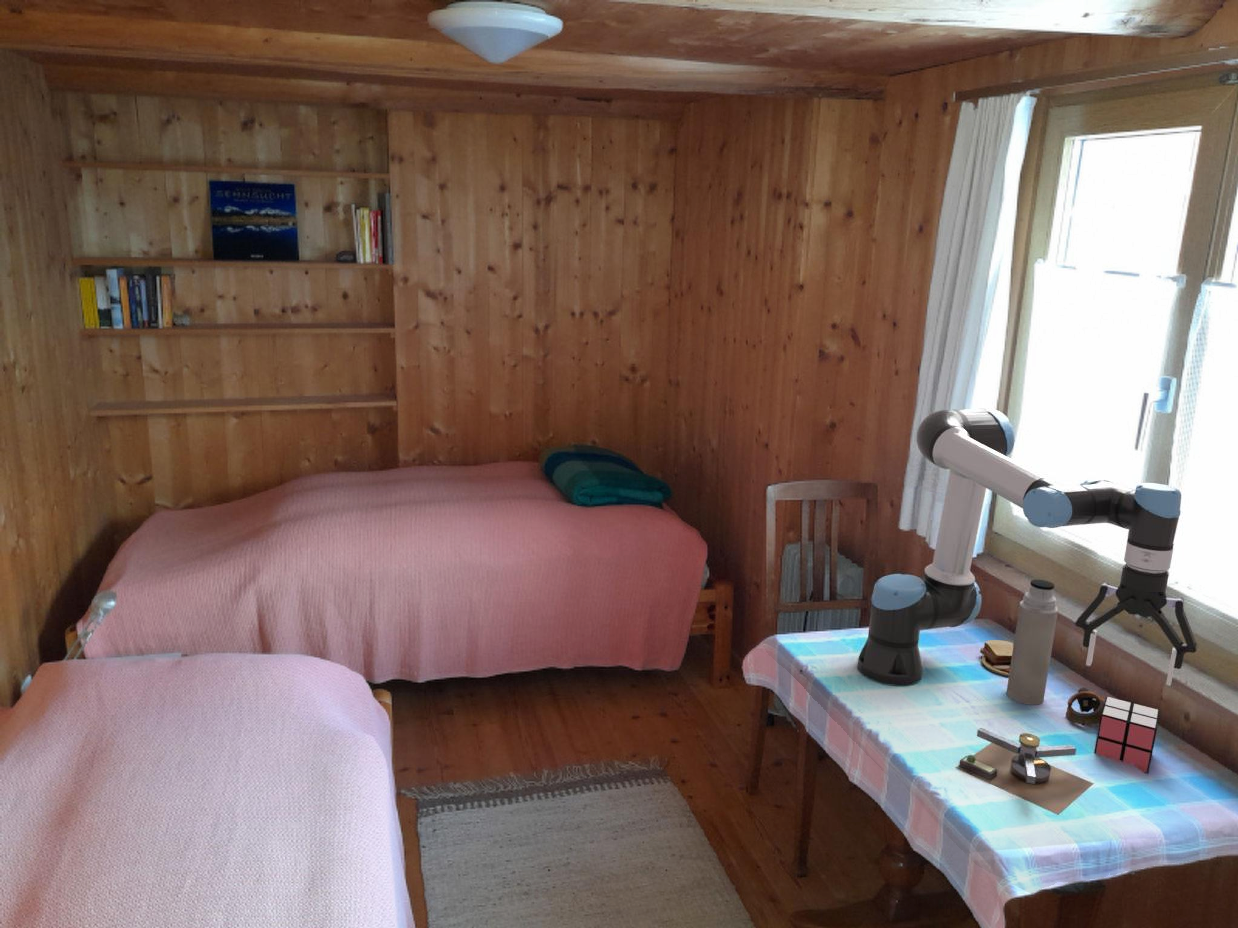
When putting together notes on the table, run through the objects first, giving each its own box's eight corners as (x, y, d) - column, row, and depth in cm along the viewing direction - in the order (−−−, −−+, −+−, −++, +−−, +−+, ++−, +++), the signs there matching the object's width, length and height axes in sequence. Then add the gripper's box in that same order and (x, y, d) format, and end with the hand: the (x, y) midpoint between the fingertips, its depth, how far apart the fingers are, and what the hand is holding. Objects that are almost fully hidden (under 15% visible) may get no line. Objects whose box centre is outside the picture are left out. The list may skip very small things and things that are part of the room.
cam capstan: (1025, 803, 174) (1031, 764, 172) (972, 751, 191) (977, 716, 189) (1100, 797, 177) (1107, 759, 175) (1041, 747, 194) (1047, 712, 192)
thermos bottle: (1007, 685, 224) (1024, 573, 218) (1043, 693, 221) (1062, 580, 215) (1005, 699, 217) (1022, 584, 211) (1043, 707, 214) (1061, 591, 208)
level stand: (954, 772, 186) (957, 754, 185) (992, 746, 196) (995, 729, 196) (1057, 820, 172) (1060, 801, 171) (1092, 788, 182) (1095, 770, 181)
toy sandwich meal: (991, 678, 229) (994, 660, 227) (972, 654, 242) (975, 637, 241) (1043, 681, 228) (1046, 662, 227) (1022, 657, 241) (1024, 639, 240)
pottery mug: (1124, 738, 203) (1115, 710, 200) (1079, 749, 206) (1069, 723, 203) (1103, 699, 214) (1094, 672, 211) (1060, 711, 216) (1051, 685, 213)
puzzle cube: (1148, 774, 188) (1157, 729, 186) (1092, 758, 193) (1100, 714, 191) (1151, 753, 197) (1160, 709, 194) (1098, 738, 202) (1105, 695, 199)
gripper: (1069, 557, 180) (1054, 661, 184) (1224, 587, 166) (1202, 698, 171) (1076, 548, 186) (1060, 649, 190) (1225, 576, 172) (1205, 684, 177)
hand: (1128, 673), depth 181 cm, fingers open, 13 cm apart
